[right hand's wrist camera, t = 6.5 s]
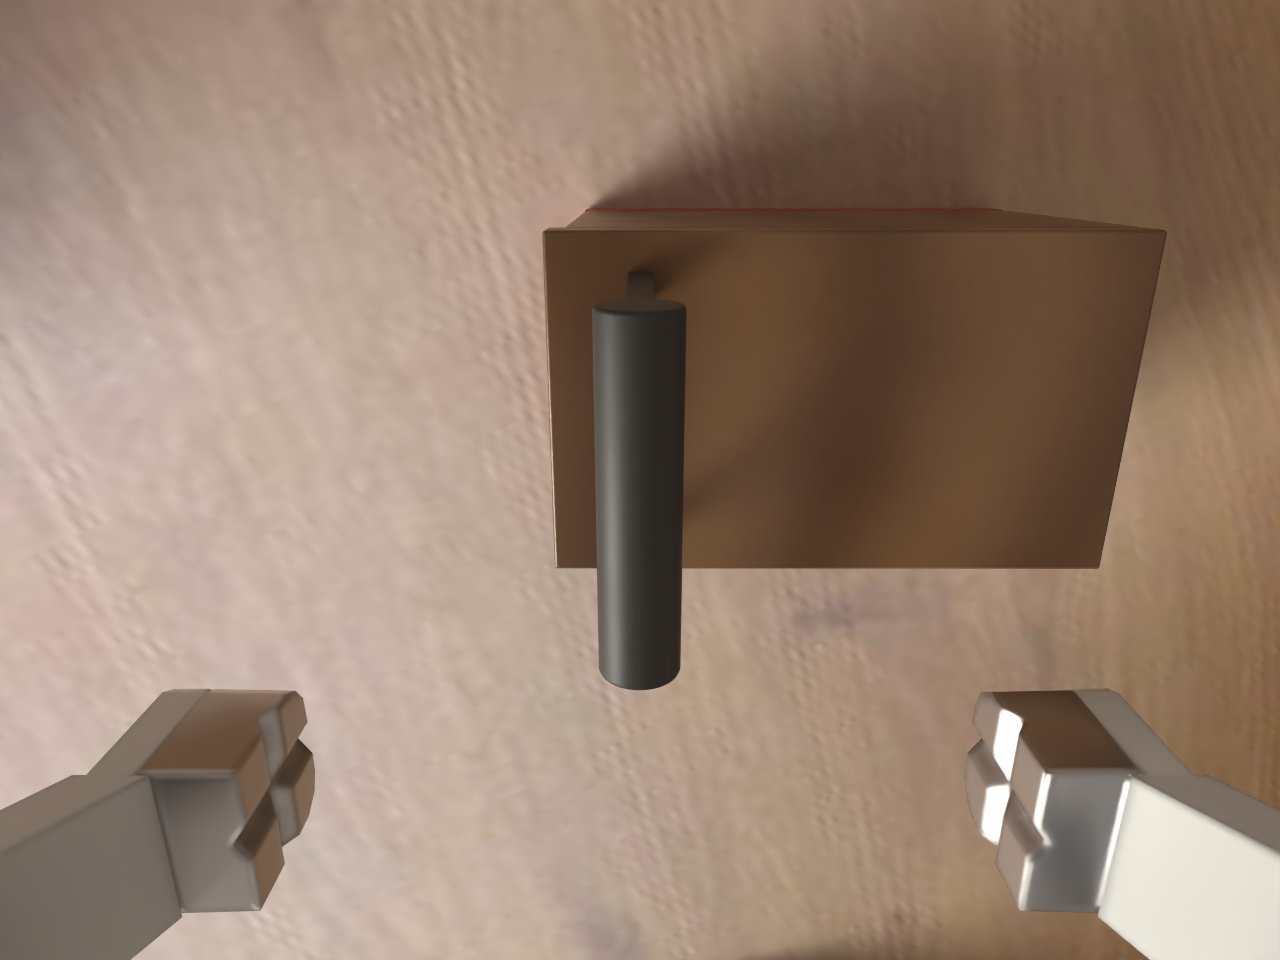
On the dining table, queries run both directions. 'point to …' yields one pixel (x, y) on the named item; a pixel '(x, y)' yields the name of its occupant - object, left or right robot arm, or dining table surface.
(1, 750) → the dining table surface
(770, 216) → the chest
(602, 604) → the lid
